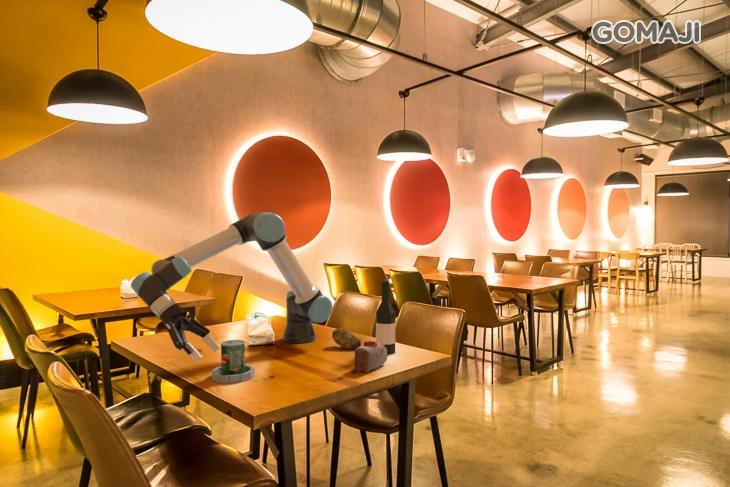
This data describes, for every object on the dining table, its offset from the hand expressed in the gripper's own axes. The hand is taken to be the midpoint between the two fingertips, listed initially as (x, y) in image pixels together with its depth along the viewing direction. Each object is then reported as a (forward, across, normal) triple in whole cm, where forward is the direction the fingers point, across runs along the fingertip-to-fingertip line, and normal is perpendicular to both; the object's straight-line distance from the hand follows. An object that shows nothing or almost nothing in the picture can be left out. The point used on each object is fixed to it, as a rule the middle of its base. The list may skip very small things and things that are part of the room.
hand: (208, 354), depth 160 cm
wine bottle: (+46, -39, +36) cm, 70 cm away
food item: (+44, -17, +33) cm, 57 cm away
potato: (+34, -45, +24) cm, 61 cm away
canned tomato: (+11, 0, +1) cm, 11 cm away
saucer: (+11, 0, +1) cm, 11 cm away
